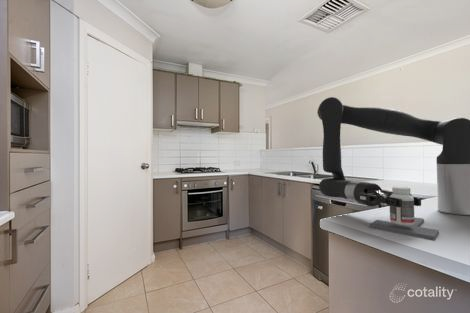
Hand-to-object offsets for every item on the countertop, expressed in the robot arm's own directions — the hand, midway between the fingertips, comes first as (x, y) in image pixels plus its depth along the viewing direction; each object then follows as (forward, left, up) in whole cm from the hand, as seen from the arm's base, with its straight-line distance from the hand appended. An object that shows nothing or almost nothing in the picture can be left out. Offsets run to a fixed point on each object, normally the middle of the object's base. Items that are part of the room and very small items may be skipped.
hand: (410, 202), depth 58 cm
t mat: (-8, -2, -8) cm, 11 cm away
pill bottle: (-1, -2, -6) cm, 7 cm away
